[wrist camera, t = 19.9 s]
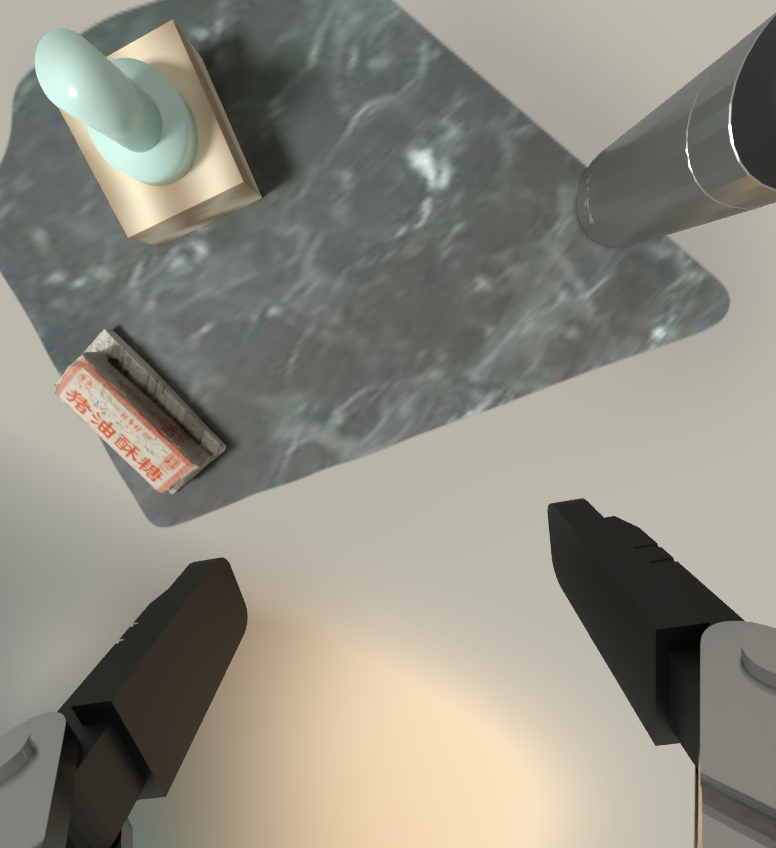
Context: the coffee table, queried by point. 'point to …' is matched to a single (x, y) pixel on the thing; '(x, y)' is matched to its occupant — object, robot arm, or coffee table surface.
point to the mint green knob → (120, 107)
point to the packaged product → (137, 413)
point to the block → (213, 165)
